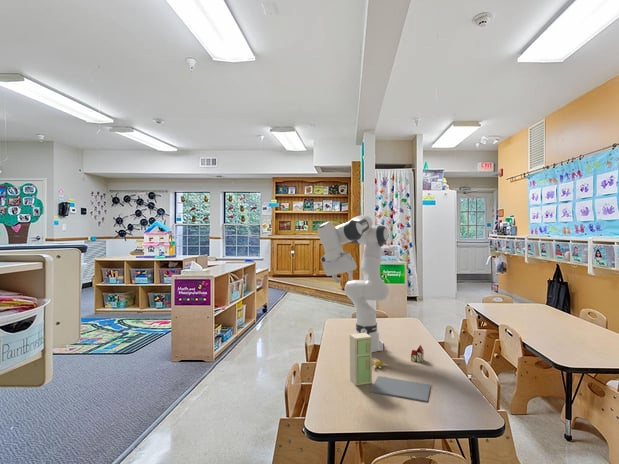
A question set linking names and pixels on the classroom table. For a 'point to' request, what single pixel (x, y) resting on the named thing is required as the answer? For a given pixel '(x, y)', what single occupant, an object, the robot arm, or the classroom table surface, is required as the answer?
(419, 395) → the mat
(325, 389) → the classroom table surface
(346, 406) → the classroom table surface
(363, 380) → the toy refrigerator
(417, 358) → the toy house
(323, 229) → the robot arm
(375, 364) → the character toy
